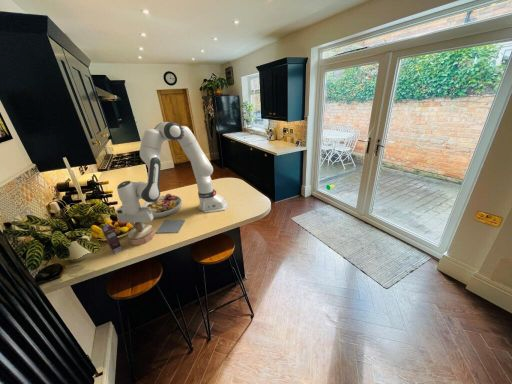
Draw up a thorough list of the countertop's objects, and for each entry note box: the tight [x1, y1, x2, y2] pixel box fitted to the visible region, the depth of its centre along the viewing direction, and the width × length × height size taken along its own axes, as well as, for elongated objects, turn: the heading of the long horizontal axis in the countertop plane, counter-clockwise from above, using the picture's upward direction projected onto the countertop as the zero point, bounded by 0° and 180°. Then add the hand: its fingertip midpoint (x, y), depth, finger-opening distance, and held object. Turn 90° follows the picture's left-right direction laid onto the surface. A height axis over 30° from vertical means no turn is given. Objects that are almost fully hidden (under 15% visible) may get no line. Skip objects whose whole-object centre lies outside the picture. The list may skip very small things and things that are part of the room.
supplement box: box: [100, 222, 123, 255], centre depth 124 cm, size 9×5×16 cm, turn 48°
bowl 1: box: [127, 229, 155, 246], centre depth 135 cm, size 14×14×4 cm
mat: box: [155, 219, 186, 234], centre depth 146 cm, size 15×15×1 cm
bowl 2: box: [141, 193, 183, 219], centre depth 168 cm, size 30×30×8 cm
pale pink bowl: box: [127, 222, 154, 239], centre depth 133 cm, size 14×14×7 cm
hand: (139, 227), depth 133 cm, fingers closed on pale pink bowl, 3 cm apart
